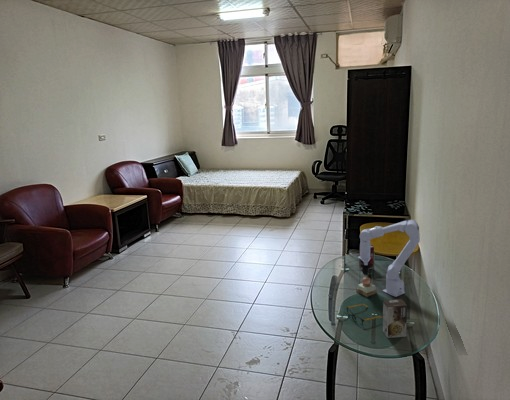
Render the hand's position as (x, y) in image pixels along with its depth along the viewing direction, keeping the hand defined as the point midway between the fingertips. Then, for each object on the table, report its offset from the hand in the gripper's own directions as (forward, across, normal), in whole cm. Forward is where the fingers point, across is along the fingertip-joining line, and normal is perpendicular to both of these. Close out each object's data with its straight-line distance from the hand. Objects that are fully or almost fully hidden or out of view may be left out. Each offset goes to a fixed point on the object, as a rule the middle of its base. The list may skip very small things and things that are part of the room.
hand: (364, 271), depth 224 cm
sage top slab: (+8, +5, +1) cm, 10 cm away
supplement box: (+11, -30, +3) cm, 32 cm away
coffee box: (+11, +47, +10) cm, 49 cm away
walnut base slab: (+11, +5, +1) cm, 12 cm away
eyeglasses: (+11, +33, -2) cm, 35 cm away
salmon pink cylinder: (+6, +5, +1) cm, 8 cm away
